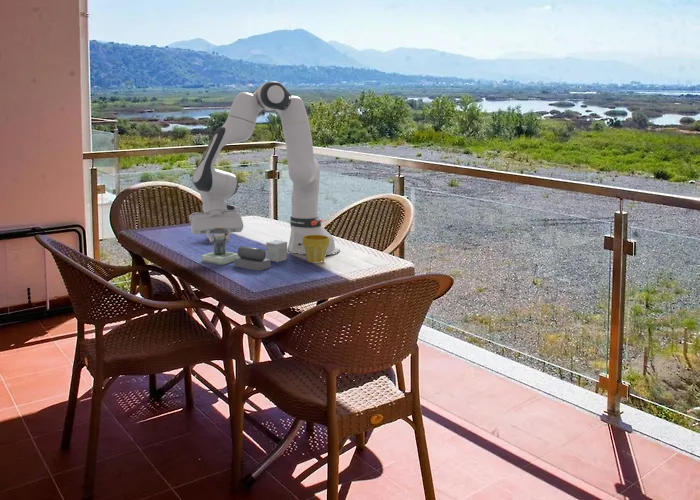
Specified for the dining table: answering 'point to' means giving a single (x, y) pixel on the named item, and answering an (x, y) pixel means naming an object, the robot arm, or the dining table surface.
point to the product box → (276, 250)
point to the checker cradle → (252, 258)
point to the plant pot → (315, 247)
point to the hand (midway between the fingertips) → (219, 241)
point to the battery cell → (219, 241)
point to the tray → (219, 258)
